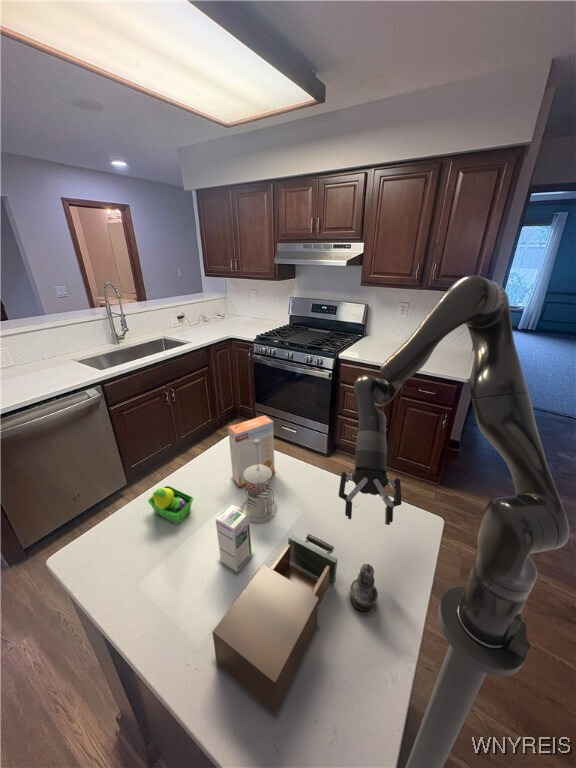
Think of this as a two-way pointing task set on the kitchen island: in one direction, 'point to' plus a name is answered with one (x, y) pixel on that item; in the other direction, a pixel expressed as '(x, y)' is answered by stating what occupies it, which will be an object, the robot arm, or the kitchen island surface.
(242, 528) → the syrup box
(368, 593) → the stone chess piece
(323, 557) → the drawer
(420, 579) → the kitchen island surface
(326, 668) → the kitchen island surface
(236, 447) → the cracker box
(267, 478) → the french press
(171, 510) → the fruit basket
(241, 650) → the cabinet
